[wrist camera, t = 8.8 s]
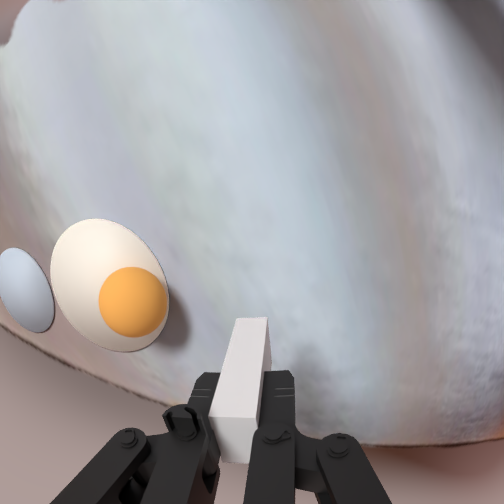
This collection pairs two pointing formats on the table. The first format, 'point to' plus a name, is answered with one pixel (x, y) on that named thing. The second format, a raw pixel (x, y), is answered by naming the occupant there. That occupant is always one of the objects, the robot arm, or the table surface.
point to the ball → (132, 302)
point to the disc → (99, 277)
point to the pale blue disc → (25, 290)
